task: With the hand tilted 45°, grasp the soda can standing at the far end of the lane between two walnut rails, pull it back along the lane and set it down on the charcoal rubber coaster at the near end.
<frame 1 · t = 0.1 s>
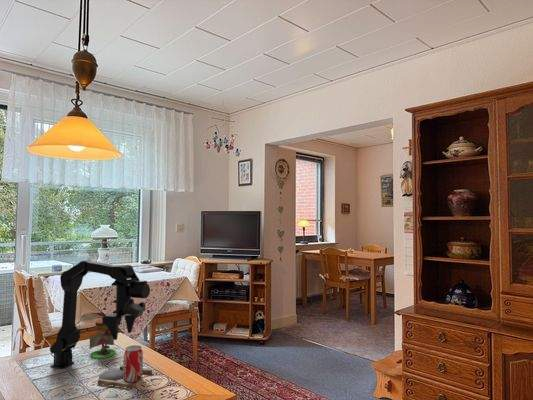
hand: (122, 336, 152), 15 cm above the table, tool pointing down, fingers open, 9 cm apart
coaster: (112, 375, 149), on the table
soda can: (132, 380, 145), on the table
rail 2: (135, 371, 153), on the table
rail 1: (115, 385, 140), on the table
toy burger: (104, 354, 172), on the table
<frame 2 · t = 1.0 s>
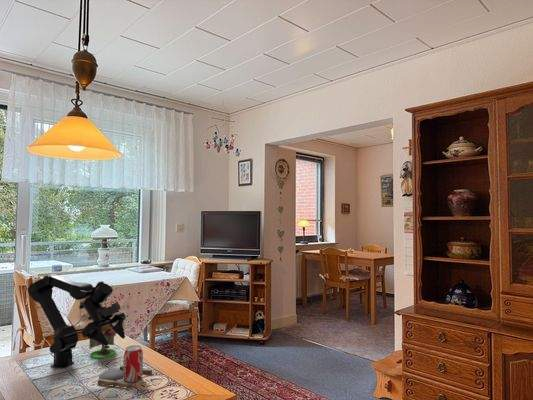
hand: (116, 341, 149), 13 cm above the table, tool tilted 45°, fingers open, 9 cm apart
nothing on the table moved.
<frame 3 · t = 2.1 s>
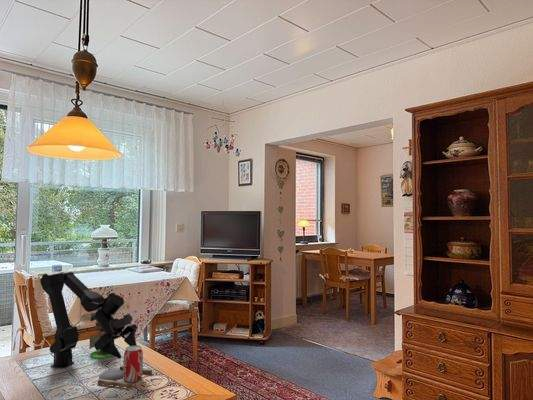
hand: (128, 353, 147), 9 cm above the table, tool tilted 45°, fingers open, 9 cm apart
nothing on the table moved.
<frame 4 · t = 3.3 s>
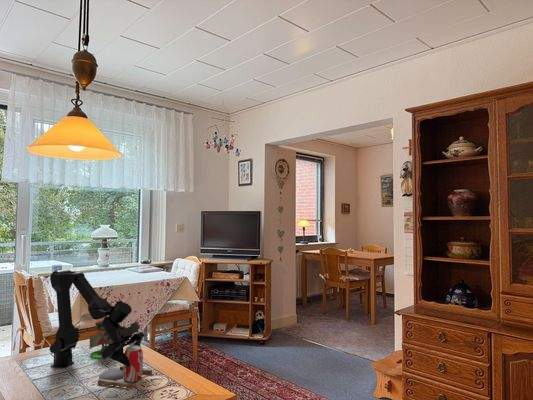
hand: (136, 362, 145), 7 cm above the table, tool tilted 45°, fingers closed on soda can, 7 cm apart
soda can: (132, 380, 145), on the table, touching gripper
everything else where it was.
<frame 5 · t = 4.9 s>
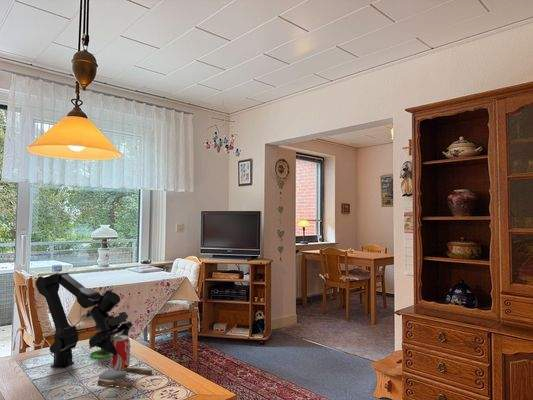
hand: (123, 351, 148), 10 cm above the table, tool tilted 45°, fingers closed on soda can, 7 cm apart
soda can: (120, 368, 148), point 3 cm above the table, touching gripper
everything else where it was.
when the fingers open (8 cm above the table, at t = 6.4 s): soda can stays where it is, resting on coaster.
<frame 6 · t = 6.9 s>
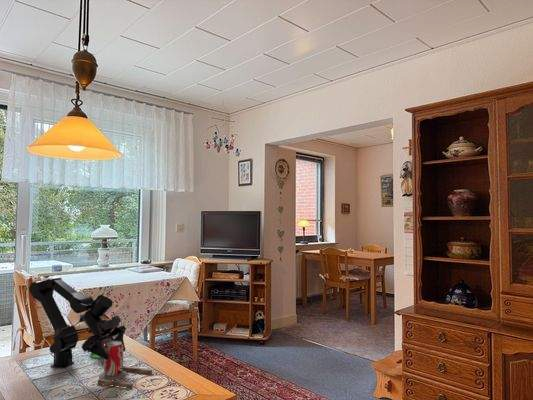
hand: (116, 354, 149), 8 cm above the table, tool tilted 45°, fingers open, 9 cm apart
soda can: (113, 374, 149), resting on coaster
everything else where it was.
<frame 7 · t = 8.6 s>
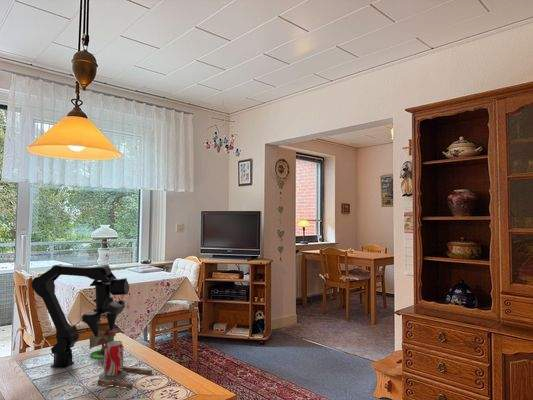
hand: (104, 333, 159), 13 cm above the table, tool pointing down, fingers open, 9 cm apart
nothing on the table moved.
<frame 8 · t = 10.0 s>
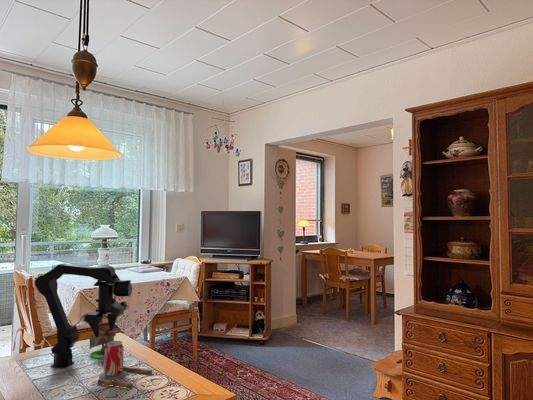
hand: (104, 333, 160), 13 cm above the table, tool pointing down, fingers open, 9 cm apart
nothing on the table moved.
at the end: soda can 0.5 cm from the coaster (horizontally); soda can tilted 0°; the gripper is holding nothing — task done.
